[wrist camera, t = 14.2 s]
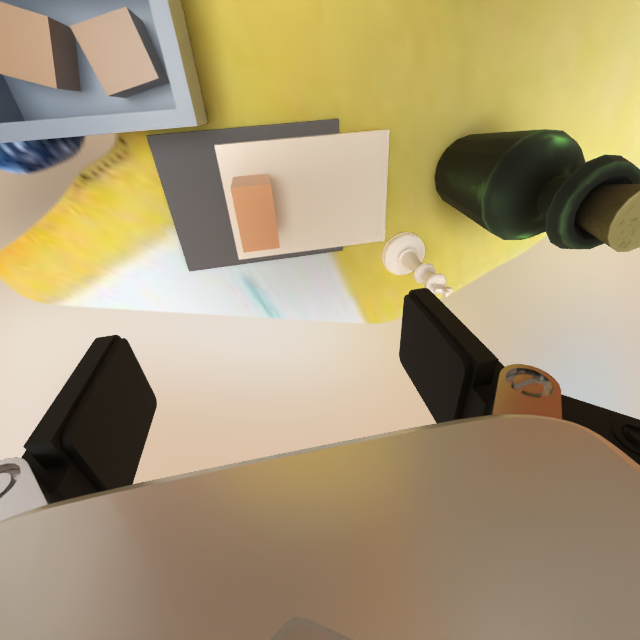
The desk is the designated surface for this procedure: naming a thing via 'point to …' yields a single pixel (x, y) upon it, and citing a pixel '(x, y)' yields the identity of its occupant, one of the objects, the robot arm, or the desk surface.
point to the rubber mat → (214, 188)
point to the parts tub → (95, 68)
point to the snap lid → (305, 191)
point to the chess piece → (413, 262)
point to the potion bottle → (542, 189)
